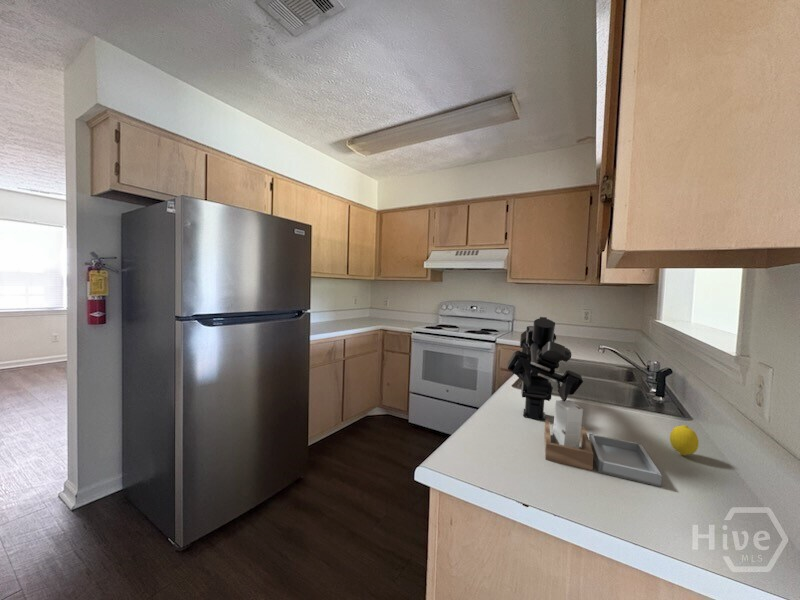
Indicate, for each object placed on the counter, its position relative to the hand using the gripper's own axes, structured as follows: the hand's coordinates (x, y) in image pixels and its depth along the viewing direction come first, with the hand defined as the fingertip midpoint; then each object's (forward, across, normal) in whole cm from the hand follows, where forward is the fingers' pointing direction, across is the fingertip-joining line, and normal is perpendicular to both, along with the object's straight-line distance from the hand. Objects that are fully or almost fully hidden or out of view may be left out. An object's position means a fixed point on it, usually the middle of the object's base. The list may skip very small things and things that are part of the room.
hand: (547, 393), depth 81 cm
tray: (+4, +22, +8) cm, 24 cm away
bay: (+2, +11, +13) cm, 17 cm away
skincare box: (+2, +11, +13) cm, 17 cm away
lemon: (-5, +39, +6) cm, 40 cm away
